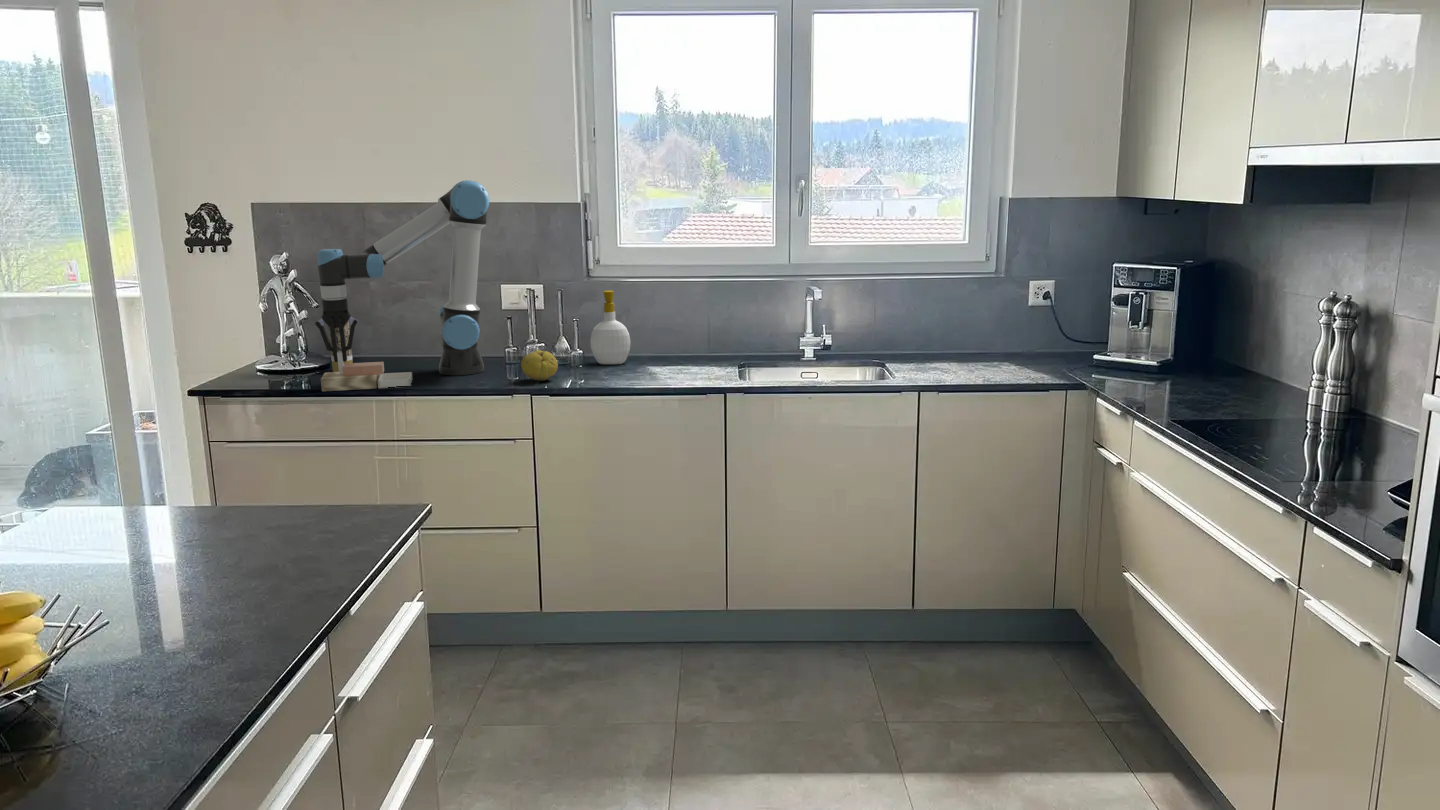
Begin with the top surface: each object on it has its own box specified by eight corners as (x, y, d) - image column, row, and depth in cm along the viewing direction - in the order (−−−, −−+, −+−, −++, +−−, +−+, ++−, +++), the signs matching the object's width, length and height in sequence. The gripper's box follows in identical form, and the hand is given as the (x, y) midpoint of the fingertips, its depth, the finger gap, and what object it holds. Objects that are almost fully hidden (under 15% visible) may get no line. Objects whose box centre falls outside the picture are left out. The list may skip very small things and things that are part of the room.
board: (379, 381, 332) (378, 369, 331) (376, 388, 321) (375, 376, 320) (326, 384, 328) (325, 372, 327) (321, 391, 317) (320, 379, 316)
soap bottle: (632, 361, 363) (630, 288, 357) (629, 365, 354) (627, 291, 348) (593, 361, 363) (590, 289, 357) (589, 365, 355) (586, 292, 349)
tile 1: (365, 371, 327) (364, 362, 327) (363, 375, 322) (362, 366, 321) (345, 372, 326) (344, 363, 325) (343, 376, 320) (342, 367, 320)
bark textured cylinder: (346, 373, 345) (339, 301, 339) (328, 373, 346) (321, 300, 340) (357, 370, 351) (350, 298, 346) (339, 369, 353) (332, 298, 347)
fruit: (521, 378, 334) (519, 349, 332) (557, 376, 337) (555, 347, 334) (522, 385, 324) (521, 354, 321) (559, 383, 326) (558, 352, 324)
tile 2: (384, 370, 329) (383, 361, 328) (382, 374, 323) (382, 365, 323) (365, 371, 327) (364, 362, 327) (363, 375, 322) (362, 366, 321)
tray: (412, 379, 335) (411, 371, 334) (410, 386, 323) (410, 378, 323) (381, 381, 332) (380, 373, 332) (378, 388, 321) (377, 380, 320)
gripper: (357, 296, 322) (364, 368, 328) (314, 298, 319) (321, 370, 325) (354, 299, 315) (362, 372, 321) (310, 300, 312) (318, 375, 318)
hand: (341, 371), depth 323 cm, fingers closed
